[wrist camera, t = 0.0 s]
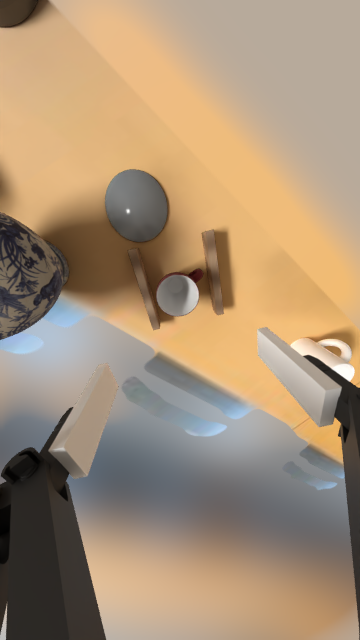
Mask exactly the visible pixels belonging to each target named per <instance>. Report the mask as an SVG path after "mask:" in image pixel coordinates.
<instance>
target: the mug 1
mask: <svg viewBox="0 0 360 640" xmlns="http://www.w3.org/2000/svg"><path fill="white" fill-rule="evenodd" d="M202 276H203V272H202V270H201V269H196V270H194V271H193V272H191V273H190V274H189V275H186V274H184V273H180V272H174V273H170V274H168V275H166V276H165V277H163V278H162V280H161V281H160V282H159V284H158V287H157V291H156V300H157V303H158V305H159V307H160V308H161V310H162V311H164V312H165V313H166V314H168V315H171V316H184V315H186V314H188V313H190V312H191V311H192V310H193V309H194V308H195V307H196V305H197V303H198V300H199V290H198V287H197V285H196V282H198V281H199V280H200V279H201V278H202Z"/></svg>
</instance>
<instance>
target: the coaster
mask: <svg viewBox="0 0 360 640" xmlns="http://www.w3.org/2000/svg"><path fill="white" fill-rule="evenodd" d="M105 207H106V212H107V216H108V218H109V220H110V222H111V224H112V226H113V227H114V228H115V230H116V231H117V232H118V233H119V234H120V235H122V236H123V237H125V238H127V239H129V240H131V241H135V242H145V241H148V240H151V239H153V238H154V237H156V236H157V235H158V234H159V233H160V232H161V230H162V229H163V227H164V225H165V222H166V218H167V201H166V197H165V194H164V192H163V190H162V188H161V186H160V185H159V183H158V182H157V181H156V180H155V179H154V178H153V177H152V176H150V175H149V174H147V173H145V172H143V171H140V170H126V171H123V172H121V173H119V174H118V175H116V176H115V177H114V178H113V179H112V181H111V182H110V184H109V186H108V188H107V191H106V196H105Z"/></svg>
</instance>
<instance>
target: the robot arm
mask: <svg viewBox="0 0 360 640" xmlns="http://www.w3.org/2000/svg"><path fill="white" fill-rule="evenodd" d="M37 1H38V0H0V26H12V25H16V24H18V23H20V22H22V21H23V20H25V19H26V18H27V17H28V16H29V15H30V14H31V12H32V11H33V9H34V7H35V6H36V3H37ZM257 335H258V356H259V357H260V358H261V359H262V361H263V362H264V363H265V364H266V365H267V367H268V368H269V369H270V370H271V371H272V372H273V374H274V375H275V376H276V377H277V378H278V380H279V381H280V382H281V383H282V384H283V385H284V387H285V388H286V389H287V390H288V391H289V392H290V394H291V395H292V396H293V397H294V398H295V400H296V401H297V402H298V403H299V404H300V405H301V407H302V408H303V409H304V410H305V411H306V412H307V414H308V415H309V416H310V417H311V418H312V420H313V421H314V422H315V423H316V424H317V425H318V427H322V426H326V425H331V424H333V421H334V417H335V418H336V419H337V420H338V421H339V422H340V423H341V426H340V430H339V433H338V436H339V437H341V440H342V451H343V462H344V472H345V483H346V493H347V504H348V514H349V525H350V536H351V546H352V556H353V568H354V578H355V589H356V599H357V610H358V621H359V633H360V388H358V387H356V386H355V385H353V384H352V383H351V382H349V381H348V380H347V379H345V378H344V377H343V376H341V375H340V374H338V373H337V372H336V371H334V370H332V368H330V367H329V366H328V365H326V364H325V363H323V362H322V361H321V360H319V359H318V358H315V357H313V356H311V355H305V356H302V355H301V354H299V353H298V352H297V351H296V350H294V349H293V348H292V347H291V346H289V345H288V344H287V343H286V342H284V341H283V340H282V339H281V338H279V337H278V336H277V335H275V334H274V333H273V332H272V331H270V330H269V329H268V328H267V327H265V328H260V329H257ZM117 390H118V384H117V382H116V380H115V378H114V376H113V374H112V372H111V370H110V368H109V366H108V364H107V363H105V364H100V365H98V367H97V368H96V370H95V372H94V373H93V375H92V377H91V379H90V380H89V382H88V384H87V385H86V387H85V389H84V391H83V392H82V394H81V396H80V397H79V399H78V401H77V403H76V404H75V406H74V407H72V408H69V410H68V411H67V412H66V413H65V414H64V415H63V416H62V418H61V419H60V421H59V423H58V425H57V426H56V427H55V429H54V431H53V432H52V434H51V435H50V437H49V439H48V440H47V442H46V444H45V445H44V447H43V448H42V450H41V452H40V453H38V452H37V451H36V450H35V449H34V448H31V447H30V448H27V449H24V450H22V451H21V452H19V453H18V454H17V455H15V456H14V457H13V458H12V459H11V460H10V461H9V462H8V463H7V464H6V466H5V467H4V469H3V471H2V473H1V477H3V478H4V479H5V480H6V482H4V483H2V484H0V632H1V628H2V624H3V619H4V614H5V610H6V605H7V629H6V640H106V637H105V633H104V629H103V625H102V621H101V617H100V612H99V609H98V604H97V600H96V596H95V592H94V588H93V584H92V580H91V576H90V571H89V568H88V563H87V559H86V555H85V551H84V547H83V543H82V539H81V535H80V531H79V526H78V522H77V518H76V514H75V510H74V506H73V502H72V498H71V493H70V489H69V485H68V484H67V482H66V480H67V477H68V475H69V474H70V475H71V476H72V477H73V478H74V479H76V478H81V477H86V476H88V473H89V470H90V467H91V464H92V461H93V458H94V456H95V453H96V450H97V447H98V444H99V441H100V438H101V435H102V433H103V430H104V427H105V424H106V421H107V418H108V415H109V413H110V409H111V407H112V404H113V401H114V398H115V395H116V392H117ZM359 635H360V634H359ZM359 640H360V636H359Z"/></svg>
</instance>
